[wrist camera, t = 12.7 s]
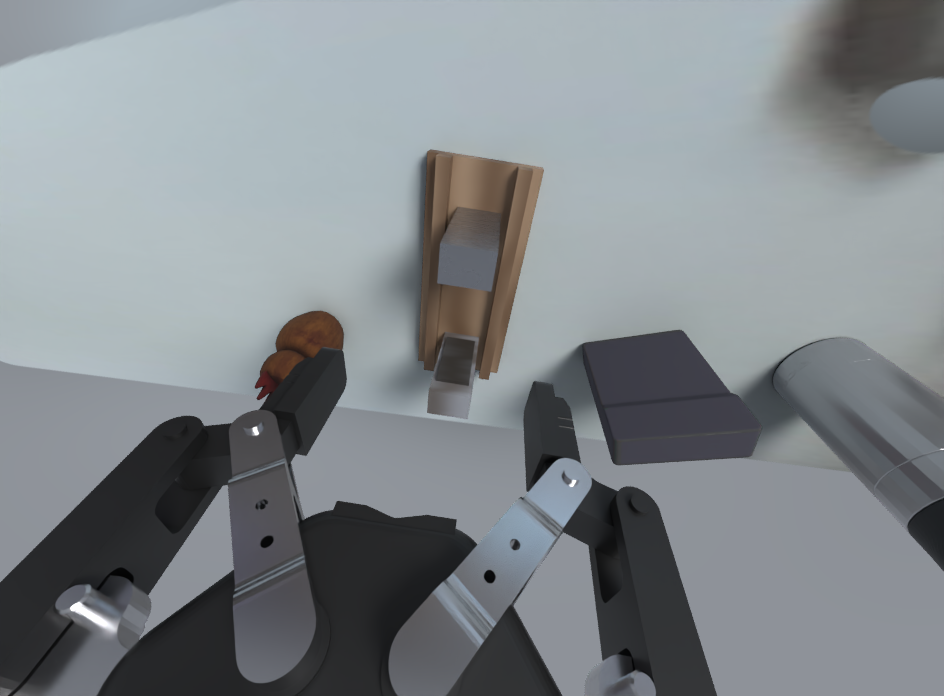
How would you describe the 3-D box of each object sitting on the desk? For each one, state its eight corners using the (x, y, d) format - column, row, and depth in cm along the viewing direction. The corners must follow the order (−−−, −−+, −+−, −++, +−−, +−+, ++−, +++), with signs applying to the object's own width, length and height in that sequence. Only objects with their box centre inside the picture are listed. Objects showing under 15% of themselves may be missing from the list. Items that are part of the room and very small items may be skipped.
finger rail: (542, 167, 30) (557, 196, 20) (497, 365, 43) (494, 436, 34) (430, 149, 30) (395, 170, 20) (420, 353, 43) (397, 421, 34)
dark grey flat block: (583, 366, 42) (613, 471, 30) (581, 338, 40) (613, 441, 28) (678, 354, 40) (752, 463, 28) (683, 324, 37) (765, 429, 25)
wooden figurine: (357, 347, 44) (299, 440, 32) (315, 348, 44) (243, 440, 32) (339, 300, 40) (265, 387, 28) (294, 303, 40) (203, 388, 28)
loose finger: (501, 213, 31) (498, 252, 23) (494, 249, 33) (490, 296, 25) (458, 206, 31) (440, 243, 23) (454, 242, 33) (436, 288, 25)
